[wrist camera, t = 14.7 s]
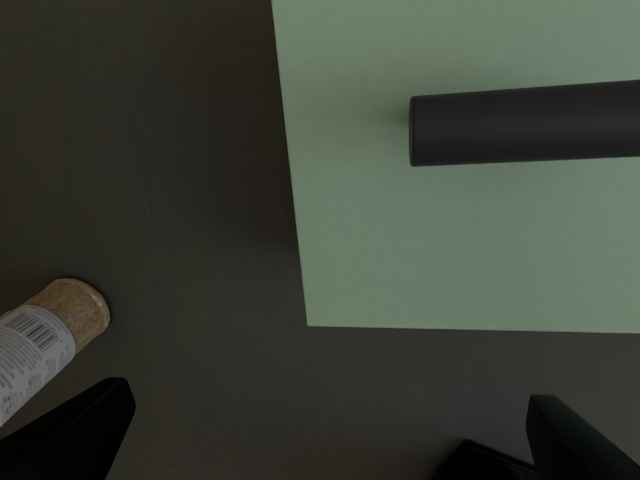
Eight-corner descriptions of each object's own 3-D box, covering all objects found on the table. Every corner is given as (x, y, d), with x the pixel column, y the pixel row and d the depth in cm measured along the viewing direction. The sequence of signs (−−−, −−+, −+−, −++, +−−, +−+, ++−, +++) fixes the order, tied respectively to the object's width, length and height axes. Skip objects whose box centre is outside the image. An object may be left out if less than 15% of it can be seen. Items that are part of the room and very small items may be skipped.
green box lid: (271, -56, 12) (202, -129, 7) (778, -130, 9) (1114, -296, 5) (310, 315, 17) (284, 403, 12) (646, 321, 14) (759, 430, 10)
